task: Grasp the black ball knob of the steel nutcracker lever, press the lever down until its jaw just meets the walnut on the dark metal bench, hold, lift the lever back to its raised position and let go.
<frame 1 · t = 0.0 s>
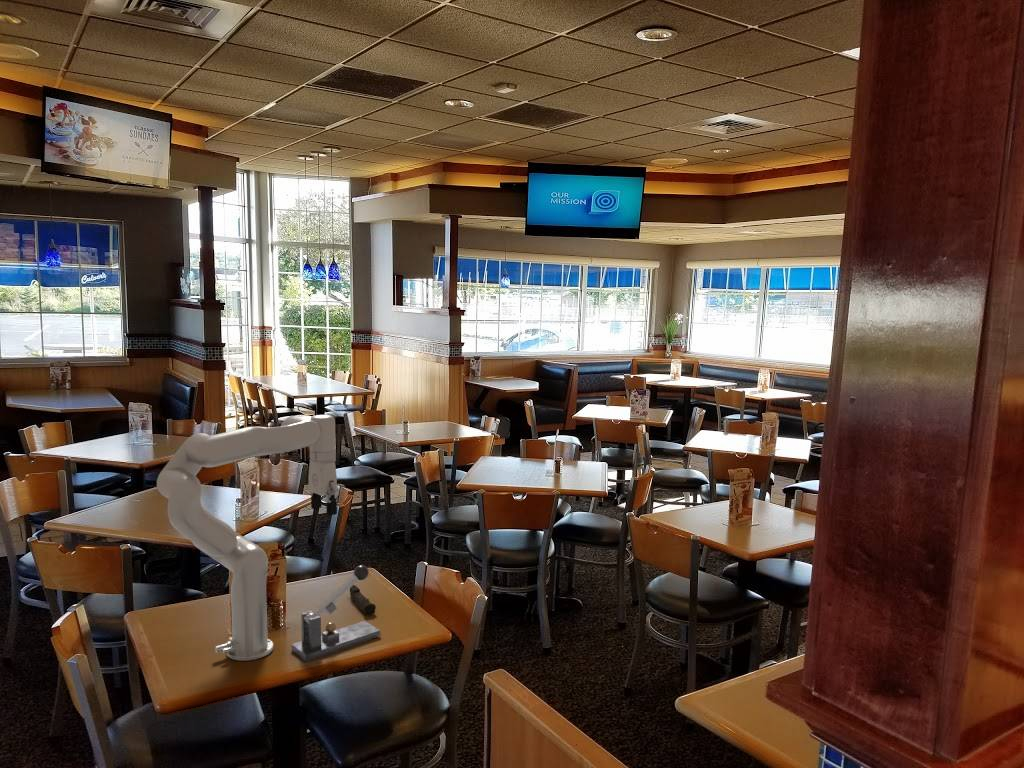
hand: (324, 511, 222), 37 cm above the table, tool pointing down, fingers open, 9 cm apart
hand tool: (358, 606, 242), on the table
lever: (338, 594, 214), point 15 cm above the table, hinge at -30.0°
nutcracker bench: (333, 644, 214), on the table
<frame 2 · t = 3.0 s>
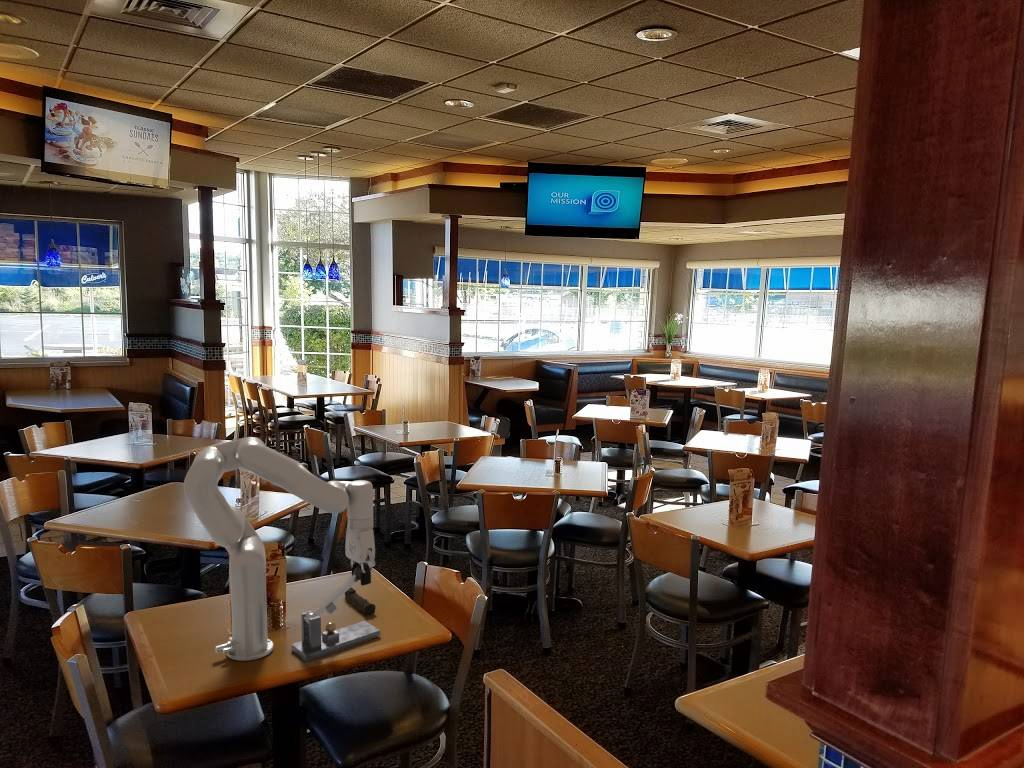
hand: (361, 581, 219), 17 cm above the table, tool pointing down, fingers closed on lever, 4 cm apart
lever: (338, 594, 214), point 15 cm above the table, hinge at -30.0°, touching gripper
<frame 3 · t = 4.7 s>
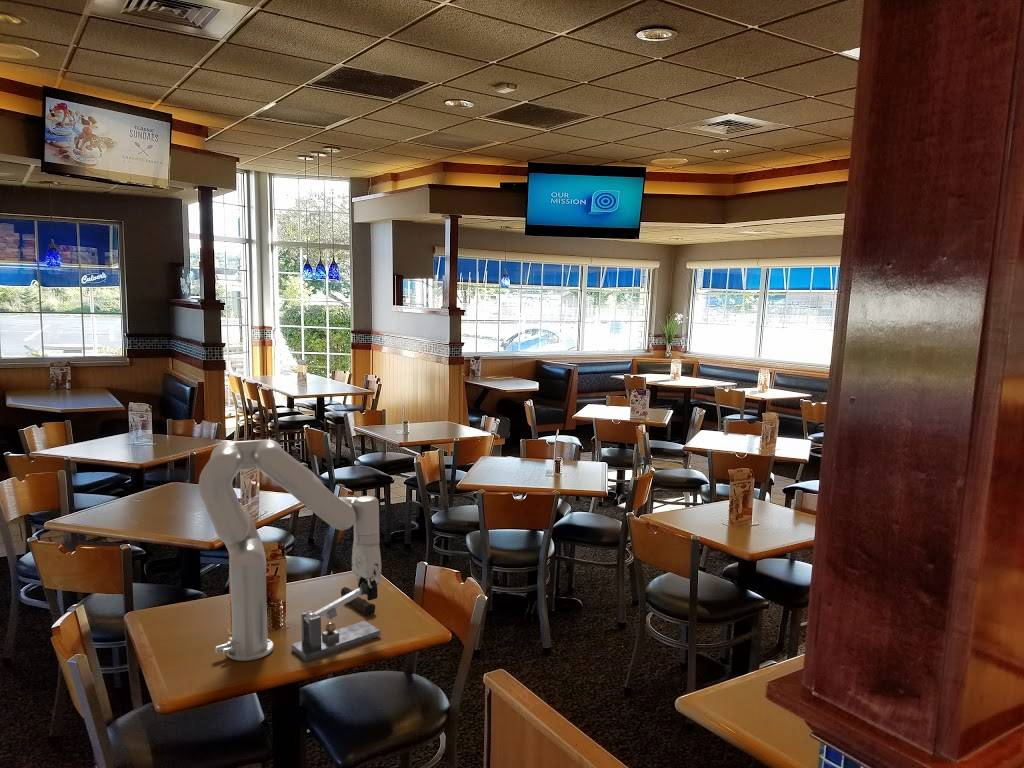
hand: (367, 596, 221), 12 cm above the table, tool pointing down, fingers closed on lever, 4 cm apart
lever: (341, 602, 215), point 12 cm above the table, hinge at -13.6°, touching gripper
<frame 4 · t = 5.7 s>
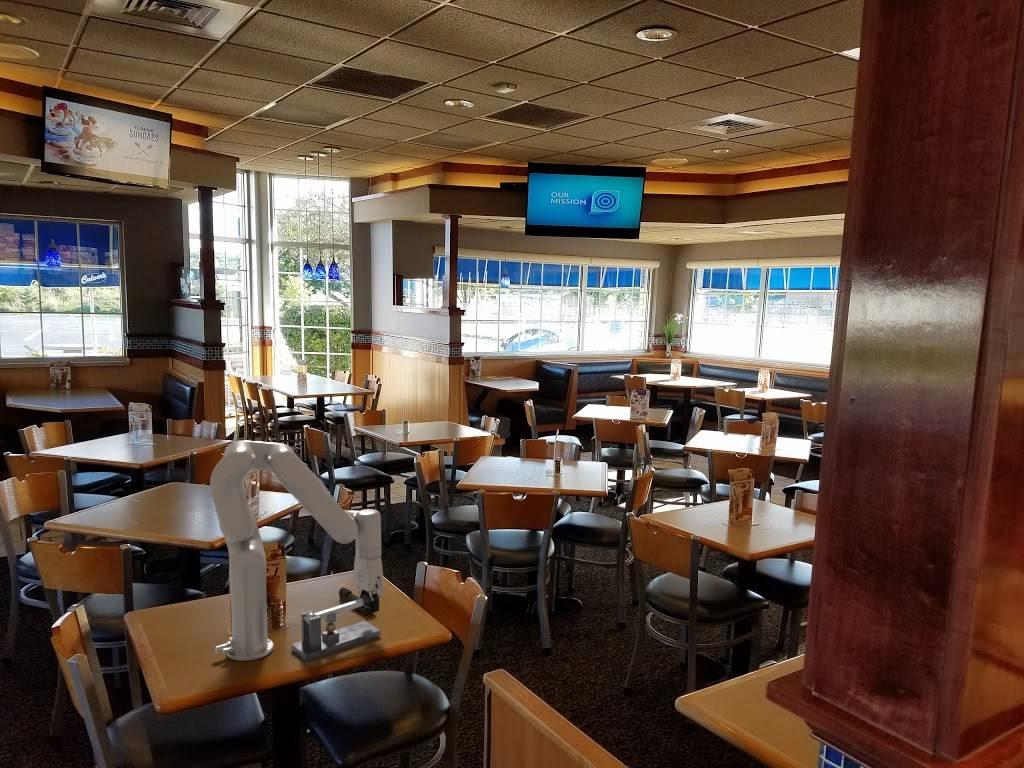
hand: (369, 608, 222), 8 cm above the table, tool pointing down, fingers closed on lever, 4 cm apart
lever: (342, 609, 215), point 10 cm above the table, hinge at -1.1°, touching gripper
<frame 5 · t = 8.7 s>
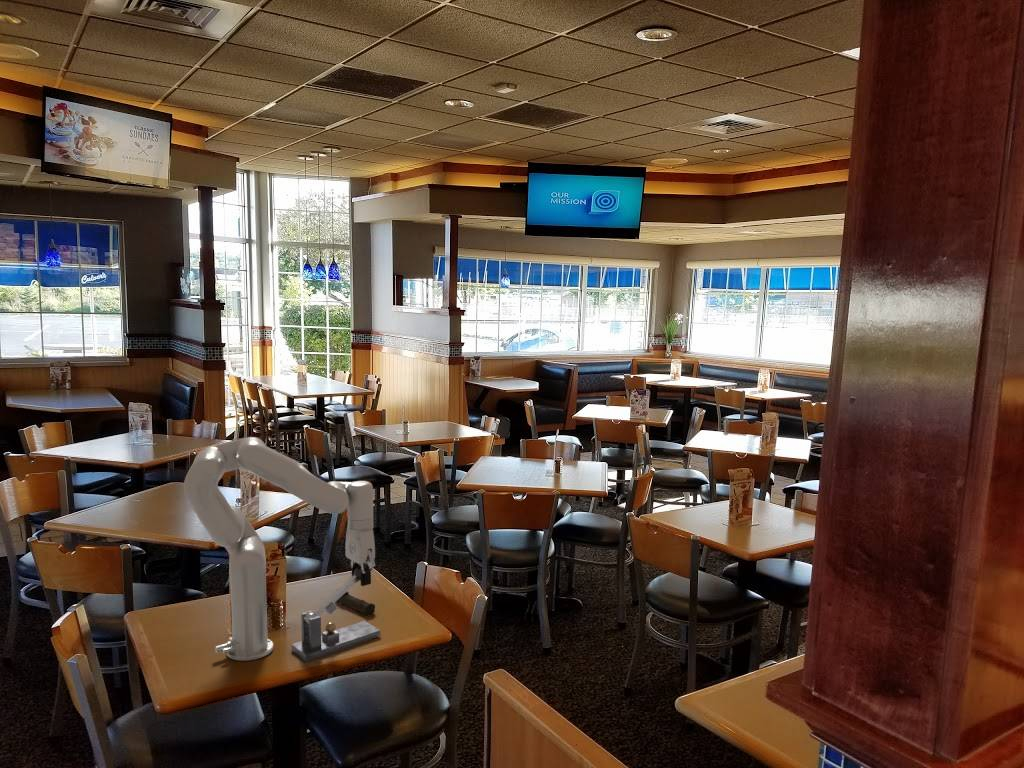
hand: (361, 581, 219), 17 cm above the table, tool pointing down, fingers closed on lever, 4 cm apart
lever: (338, 595, 214), point 15 cm above the table, hinge at -29.4°, touching gripper
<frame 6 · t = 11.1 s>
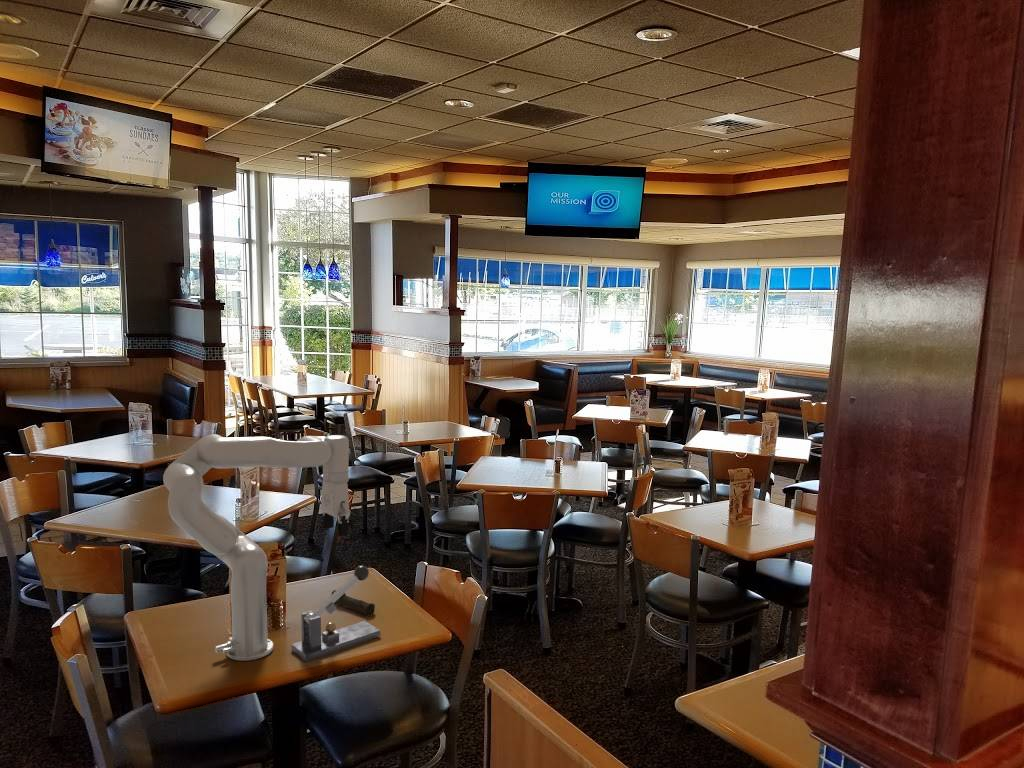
hand: (335, 531, 222), 31 cm above the table, tool pointing down, fingers open, 9 cm apart
lever: (338, 594, 214), point 15 cm above the table, hinge at -29.6°
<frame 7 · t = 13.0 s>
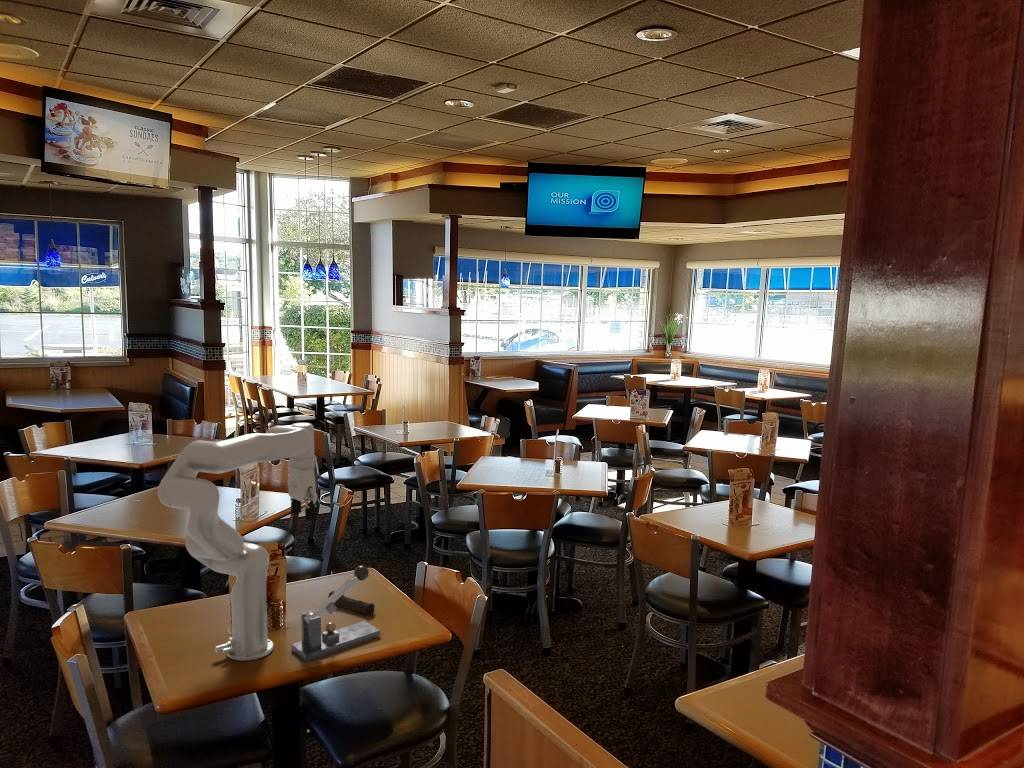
hand: (303, 516, 228), 33 cm above the table, tool pointing down, fingers open, 9 cm apart
at the end: lever at -30° (first picture: -30°); the gripper is holding nothing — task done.
